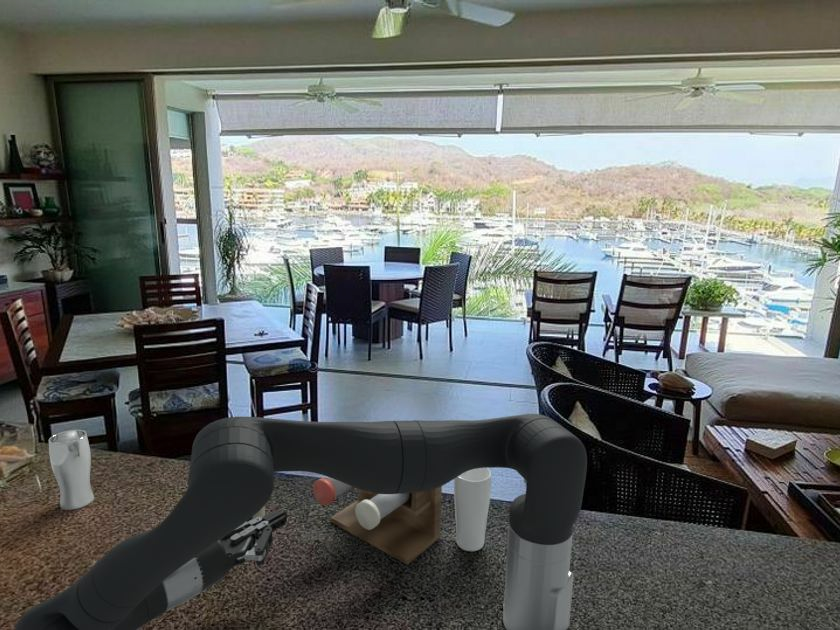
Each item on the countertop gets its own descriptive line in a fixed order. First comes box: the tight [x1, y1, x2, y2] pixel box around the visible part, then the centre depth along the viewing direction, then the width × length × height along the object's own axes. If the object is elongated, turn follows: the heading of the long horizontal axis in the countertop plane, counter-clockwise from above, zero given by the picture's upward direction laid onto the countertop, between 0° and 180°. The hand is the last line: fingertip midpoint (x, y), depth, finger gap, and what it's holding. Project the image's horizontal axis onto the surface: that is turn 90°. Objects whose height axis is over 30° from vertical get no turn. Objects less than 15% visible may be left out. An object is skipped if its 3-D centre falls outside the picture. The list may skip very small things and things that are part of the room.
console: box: [330, 486, 443, 565], centre depth 102 cm, size 20×10×18 cm, turn 52°
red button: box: [312, 477, 354, 507], centre depth 100 cm, size 5×10×5 cm, turn 142°
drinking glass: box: [453, 468, 492, 552], centre depth 98 cm, size 7×7×15 cm
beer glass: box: [48, 429, 95, 511], centre depth 110 cm, size 7×7×15 cm
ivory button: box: [355, 493, 411, 530], centre depth 94 cm, size 5×10×5 cm, turn 142°
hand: (283, 515), depth 90 cm, fingers closed
